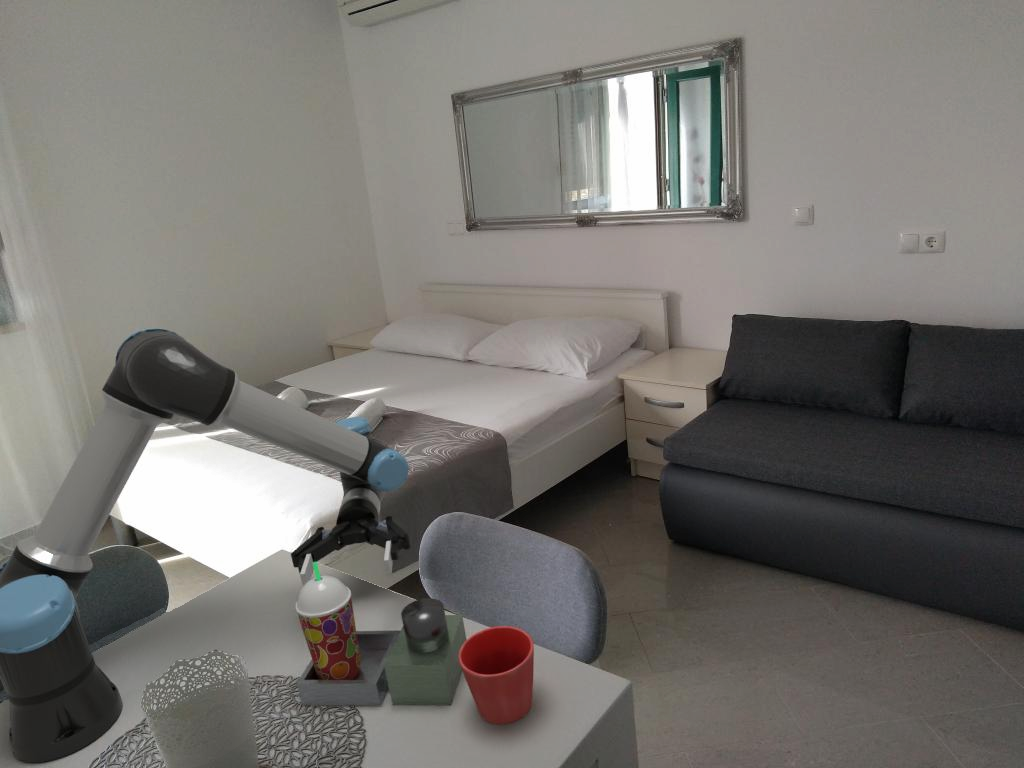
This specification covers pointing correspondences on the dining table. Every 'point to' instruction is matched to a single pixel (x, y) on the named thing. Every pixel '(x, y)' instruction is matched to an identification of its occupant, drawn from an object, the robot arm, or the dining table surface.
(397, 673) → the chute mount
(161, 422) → the robot arm
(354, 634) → the smoothie
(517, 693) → the flower pot
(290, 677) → the dining table surface
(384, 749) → the dining table surface
